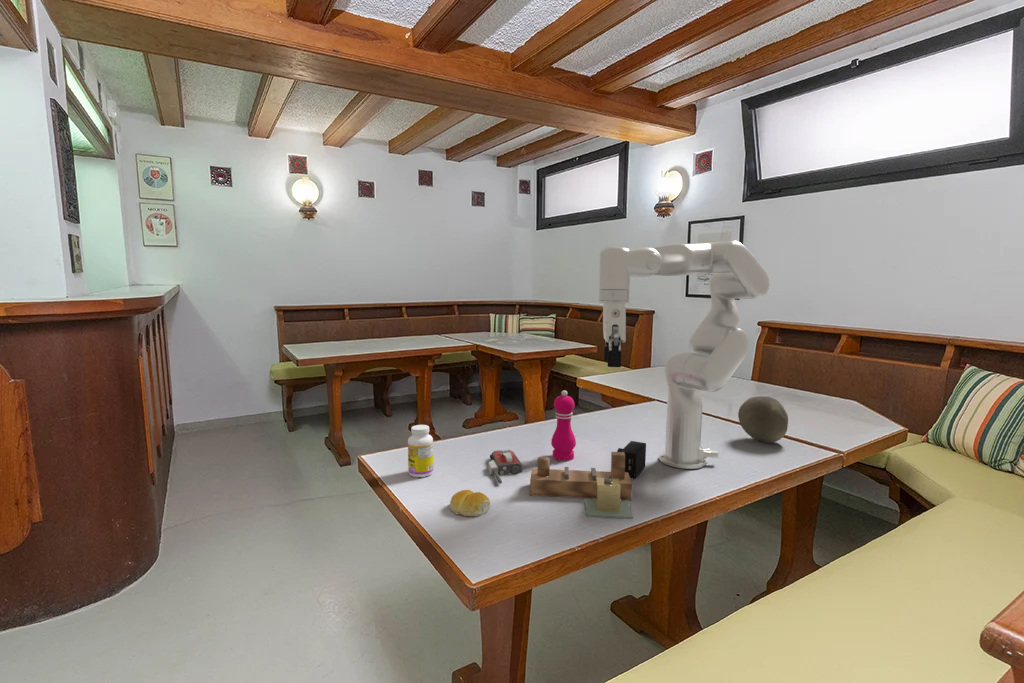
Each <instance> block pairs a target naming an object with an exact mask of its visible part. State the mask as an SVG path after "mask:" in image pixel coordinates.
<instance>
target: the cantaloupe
mask: <svg viewBox="0 0 1024 683" xmlns="http://www.w3.org/2000/svg"><path fill="white" fill-rule="evenodd" d="M737 415H738V421H739V423H740V426H741V428H742V430H744V432H745V433H746V434H747V435H749V436H750V438H752V440H753V439H754V441H757V442H759V443H764V442H765V443H767V444H770V443H772V444H773V443H776V442H778V441H780V440H781V439H783V438H784V437H785V435H786V433H787V431H788V427H789V426H788V425H789V415H788V412H787V411H786V409H785V407H784V405H783V404H782V403H781V402H780V401H779V400H777V399H776V398H774V397H771V396H762V395H761V396H752V397H749V398H747V399H746V400H745V401H744V402H743V403H742V404H741V405H740V407H739V409H738V414H737Z"/></svg>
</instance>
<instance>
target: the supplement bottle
mask: <svg viewBox="0 0 1024 683" xmlns="http://www.w3.org/2000/svg"><path fill="white" fill-rule="evenodd" d="M410 429H411V430H410V432H411V436H409V437H408V439H407V463H408V464H407V465H408V467H407V468H408V474H409V476H411V477H412V476H413V478H418V477H421V478H426V476H427V477H429V476H431V475H433V473H434V438H433V436H432V435H431V434H429V433H430V426H429V425H427V424H416V425H412V426H411V428H410Z"/></svg>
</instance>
